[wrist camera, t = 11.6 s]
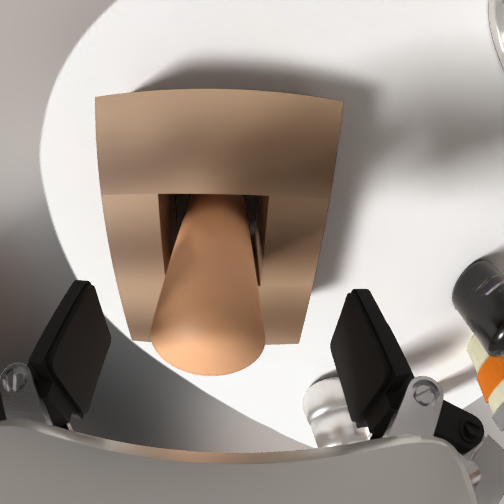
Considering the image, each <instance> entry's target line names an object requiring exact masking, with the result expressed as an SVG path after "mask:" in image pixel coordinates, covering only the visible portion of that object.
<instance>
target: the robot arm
mask: <svg viewBox="0 0 504 504" xmlns="http://www.w3.org/2000/svg"><path fill="white" fill-rule="evenodd" d="M488 12H489V23H490V28H491V33H492V37H493V41H494V45H495V47H496V50H497V53H498V56H499V59H500V61H501V64H502V66H503V68H504V0H489V10H488ZM110 343H111V336H110V332H109V329H108V327H107V324H106V321H105V318H104V315H103V312H102V309H101V306H100V303H99V299H98V296H97V293H96V289H95V287H94V286H93V285H91V283H90V282H89V281H81V280H75V281H74V282H73V283H72V285H71V287H70V288H69V290H68V292H67V293H66V294H65V296H64V298H63V299H62V301H61V302H60V305H59V306H58V308H57V309H56V311H55V312H54V314H53V316H52V318H51V320H50V321H49V323H48V325H47V326H46V328H45V330H44V332H43V334H42V335H41V337H40V339H39V341H38V343H37V345H36V347H35V349H34V351H33V352H32V354H31V357H30V358H29V363H28V365H27V366H26V365H25V364H22V363H15V364H12V365H10V366H8V367H7V368H6V369H5V370H4V371H3V373H2V375H1V377H0V504H499V502H500V500H501V499H502V497H503V495H504V449H503V448H502V447H501V446H500V445H499V444H498V443H497V442H495V440H493V439H492V438H491V437H490V436H489V435H486V436H484V428H483V425H482V423H481V421H480V420H479V419H478V418H477V417H476V416H474V415H472V414H470V413H468V412H466V411H464V410H462V409H460V408H458V407H457V406H455V405H453V404H451V403H449V402H447V401H445V400H443V391H442V388H441V387H440V385H439V384H438V383H437V382H436V381H435V380H433V379H432V378H430V377H426V376H418V377H414V375H413V373H412V371H411V369H410V367H409V365H408V363H407V360H406V358H405V356H404V354H403V352H402V350H401V348H400V346H399V344H398V342H397V340H396V338H395V336H394V334H393V332H392V330H391V328H390V326H389V325H388V324H387V322H386V320H385V318H384V317H383V315H382V313H381V311H380V309H379V307H378V305H377V303H376V302H375V300H374V298H373V296H372V294H371V292H370V291H369V290H368V289H353V290H352V292H351V293H348V294H347V296H346V300H345V303H344V306H343V309H342V312H341V315H340V318H339V320H338V323H337V326H336V329H335V332H334V335H333V337H332V340H331V344H330V348H331V353H332V356H333V359H334V363H335V366H336V369H337V373H338V376H339V379H340V383H341V386H342V390H343V393H344V397H345V400H346V404H347V408H348V411H349V415H350V418H351V420H352V422H355V423H356V426H357V428H363V427H368V428H369V432H370V435H369V437H368V438H367V440H366V441H362V442H356V443H351V444H344V445H338V446H330V447H323V448H315V449H307V450H296V451H284V452H267V453H209V452H192V451H180V450H171V449H162V448H153V447H147V446H139V445H133V444H128V443H123V442H118V441H113V440H108V439H103V438H99V437H95V436H90V435H86V434H82V433H77V432H74V431H73V430H72V428H71V426H70V423H69V422H70V418H71V417H73V418H77V419H80V420H82V419H83V416H84V414H86V413H87V412H88V410H89V407H90V404H91V400H92V397H93V394H94V390H95V387H96V384H97V381H98V378H99V375H100V372H101V369H102V366H103V363H104V360H105V357H106V354H107V352H108V349H109V346H110Z"/></svg>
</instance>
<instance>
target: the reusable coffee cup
mask: <svg viewBox="0 0 504 504" xmlns="http://www.w3.org/2000/svg"><path fill="white" fill-rule="evenodd" d="M467 351H468V354H469V356H470V358H471V360H472V362H473V365H474V367H475V369H476V371H477V381H478V383H479V386H480V388H481V391H482V393H483V396H484V398H485V401H486V403H489V404H490V407H491V409H492V412H493V417H492V418H493V420H494V421H495V423H496V424H497V426H498V427H499V429H500V430H501V431H504V362H503V356H502V357H498V358H495V357H491V356H489V355H488V354H487V352H486V351H485V349H484V348H483V346H482V345H481V343H480V342H479V340H478V339H477V337H476V336H475V335H473V336H472V338H471V340H470V341H469V344H468V346H467Z"/></svg>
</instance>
